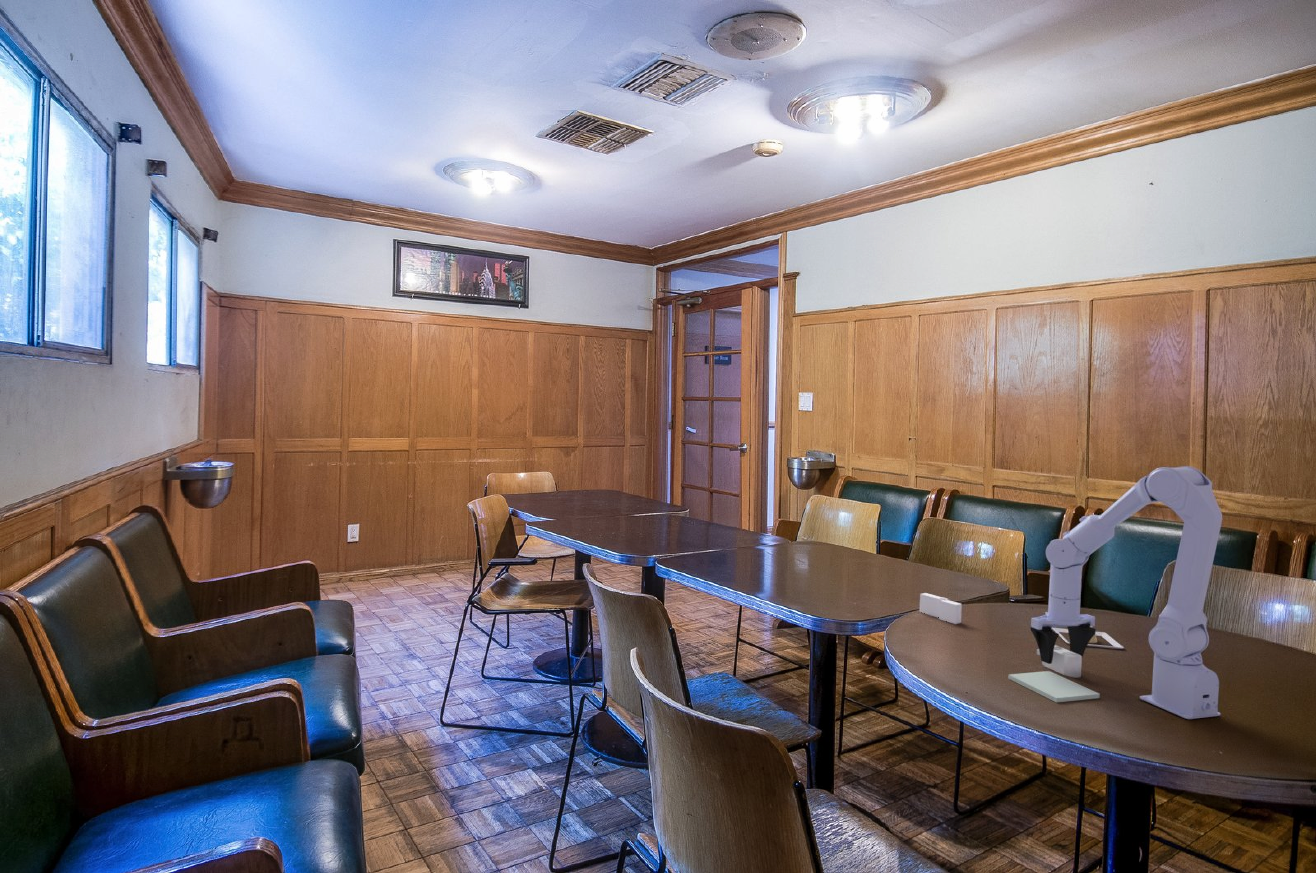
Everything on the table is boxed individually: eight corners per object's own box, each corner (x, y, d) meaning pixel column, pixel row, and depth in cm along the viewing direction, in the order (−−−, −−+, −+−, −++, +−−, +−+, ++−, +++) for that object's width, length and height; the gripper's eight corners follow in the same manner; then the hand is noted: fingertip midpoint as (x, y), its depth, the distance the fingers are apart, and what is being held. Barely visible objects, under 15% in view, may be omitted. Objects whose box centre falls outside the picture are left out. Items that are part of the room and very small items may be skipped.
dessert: (1066, 647, 167) (1067, 626, 167) (1051, 631, 179) (1052, 612, 178) (1124, 652, 164) (1125, 632, 164) (1105, 636, 176) (1106, 617, 176)
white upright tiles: (909, 610, 194) (910, 589, 194) (952, 612, 193) (953, 591, 193) (925, 627, 179) (926, 604, 179) (972, 629, 178) (973, 606, 178)
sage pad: (1099, 697, 135) (1099, 693, 135) (1056, 702, 133) (1056, 698, 133) (1049, 674, 147) (1049, 670, 147) (1008, 678, 144) (1008, 674, 144)
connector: (1085, 676, 147) (1086, 657, 146) (1070, 677, 146) (1071, 658, 146) (1046, 659, 156) (1047, 641, 156) (1032, 660, 155) (1033, 642, 155)
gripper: (1076, 590, 156) (1073, 652, 156) (1021, 592, 152) (1018, 656, 152) (1105, 598, 149) (1101, 663, 149) (1047, 601, 145) (1044, 668, 145)
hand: (1061, 660), depth 150 cm, fingers open, 7 cm apart
